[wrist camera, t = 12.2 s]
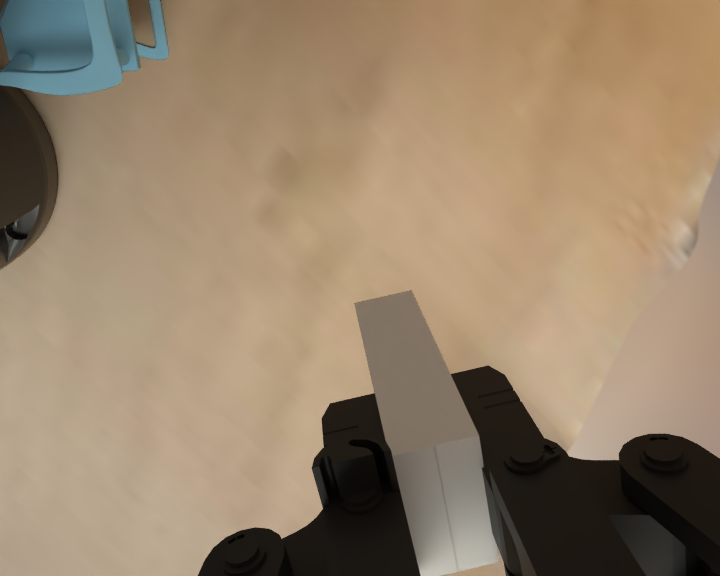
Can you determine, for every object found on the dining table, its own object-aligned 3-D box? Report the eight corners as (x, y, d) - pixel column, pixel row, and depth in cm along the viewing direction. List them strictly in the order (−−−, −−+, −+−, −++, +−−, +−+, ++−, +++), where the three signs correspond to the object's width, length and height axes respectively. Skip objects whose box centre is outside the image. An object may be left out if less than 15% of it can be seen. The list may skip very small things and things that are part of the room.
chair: (-2, -77, 37) (-98, -72, 27) (148, -82, 38) (110, -79, 28) (35, 64, 41) (-36, 116, 31) (171, 56, 42) (145, 104, 32)
